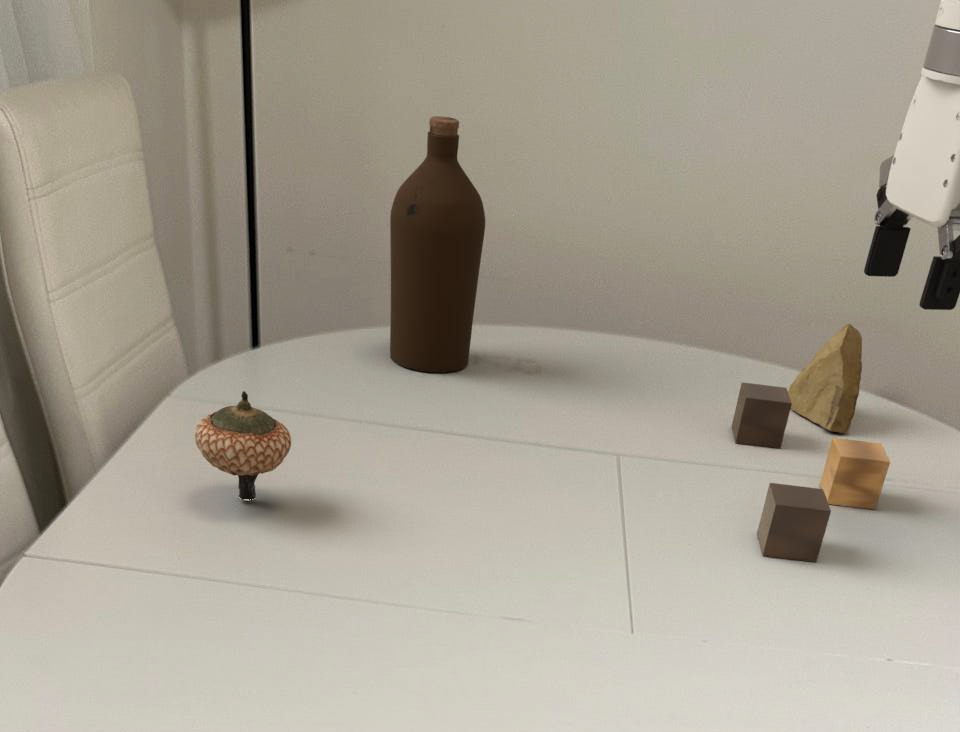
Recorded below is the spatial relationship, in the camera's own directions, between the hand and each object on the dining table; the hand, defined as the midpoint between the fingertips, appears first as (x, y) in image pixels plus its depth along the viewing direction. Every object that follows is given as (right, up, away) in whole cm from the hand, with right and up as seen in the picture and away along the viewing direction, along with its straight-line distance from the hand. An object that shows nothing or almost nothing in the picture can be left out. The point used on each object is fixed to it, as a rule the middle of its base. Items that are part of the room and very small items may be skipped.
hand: (907, 291), depth 105 cm
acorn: (-59, -17, +4) cm, 61 cm away
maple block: (0, -13, +18) cm, 22 cm away
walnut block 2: (-9, -21, +7) cm, 23 cm away
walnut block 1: (-7, -3, +29) cm, 30 cm away
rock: (+2, +2, +36) cm, 36 cm away
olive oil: (-43, +10, +39) cm, 59 cm away
